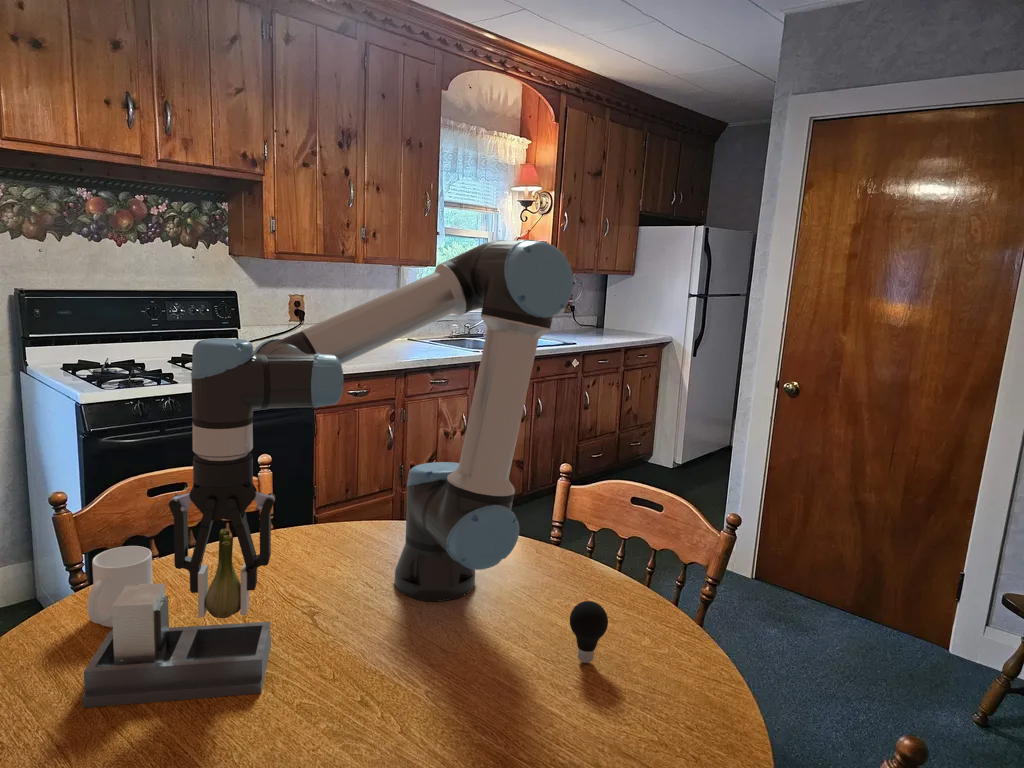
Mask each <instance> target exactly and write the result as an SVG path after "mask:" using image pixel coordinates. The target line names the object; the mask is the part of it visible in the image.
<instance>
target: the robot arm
mask: <svg viewBox="0 0 1024 768" xmlns="http://www.w3.org/2000/svg"><path fill="white" fill-rule="evenodd" d="M573 275H574V274H573V270H572V267H571V265H570V263H569V262H568V259H567V258H566V256H565V254H564V252H562V251H561V249H559V248H557V247H556V246H554V245H553V244H551V243H548V242H545V241H539V240H533V239H529V238H528V239H524V240H505V239H501V240H499V239H498V240H492V241H489V242H485V243H482V244H480V245H478V246H475V247H474V248H471V249H469V250H467V251H465V252H463V253H461V254H459V255H456V256H454V257H453V258H450V259H448V260H446V261H443V262H441V263H439V264H437V265H436V266H435V269H434V272H433V273H431V274H429V275H426V276H424V277H422V278H419V279H418V280H414V281H413V282H410V283H408V284H406V285H403V286H401V287H399V288H396V289H394V290H392V291H389V292H388V293H385V294H383V295H382V294H381V296H378V297H375V298H374V299H372V300H369V301H366V302H365V303H362V304H360V305H357V306H355V307H353V308H351V309H349V310H346V311H344V312H341V313H338V314H337V315H335V316H332V317H330V318H328V319H326V320H322V321H321V322H318V323H317V324H316V323H315V324H313V325H311V326H309V327H307V328H305V329H303V330H301V331H298V332H296V333H293V334H291V335H288V336H287V337H283V338H275V339H268V340H265V341H263V342H262V343H260V344H259V345H257V347H256V348H255V349H254V347H253V344H252V342H250V341H249V340H247V339H242V338H229V337H228V338H226V337H225V338H224V337H222V338H220V337H215V338H214V337H213V338H205V339H201V340H198V341H197V342H196V343H195V344H194V345H193V348H192V355H191V356H192V357H191V358H192V359H191V361H192V362H191V372H190V377H191V380H190V381H191V405H192V406H191V408H192V411H191V412H192V414H191V415H192V422H191V423H192V424H191V425H192V451H193V453H194V454H195V455H194V456H193V457H192V468H193V469H192V488H191V489H190V492H188V493H185V494H182V495H181V494H178V493H177V494H175V495H174V496H173V497H172V499H171V500H170V501H169V503H168V507H169V510H170V512H171V514H172V516H173V547H174V548H173V549H174V551H173V552H174V553H173V554H174V559H173V560H174V568H175V569H178V570H180V569H181V570H182V569H184V570H187V571H188V572H189V591H190V592H191V594H197V611H198V612H197V613H198V616H197V617H198V618H205V616H206V614H207V612H208V610H207V608H206V604H205V599H206V595H207V592H208V589H209V573H208V571H209V564H202V563H203V561H204V556H205V553H206V552H205V551H206V549H207V544H208V541H209V538H210V533H211V530H212V526H213V524H214V523H213V522H214V521H219V520H220V521H221V520H225V521H231V523H232V526H233V528H234V530H235V534H236V537H237V540H238V544H239V548H240V551H241V554H242V558H243V561H244V563H243V564H242V566H241V570H240V584H241V609H240V616H247V614H248V610H249V607H250V591H255V589H256V587H257V583H258V568H259V567H262V566H263V567H265V566H268V564H270V563H269V562H270V559H271V553H272V548H271V546H272V545H271V544H272V518H271V517H272V509H273V506H274V504H275V500H276V494H274V493H271V492H270V493H268V494H265V493H263V492H259V491H257V488H256V486H255V484H254V474H253V473H254V470H253V468H254V459H253V458H254V456H253V454H252V453H251V451H252V450H253V448H254V438H253V437H254V435H253V434H254V431H253V429H254V428H253V426H254V425H253V423H254V419H253V418H254V415H253V414H254V410H266V409H267V410H268V409H293V408H313V409H317V408H319V407H328V406H329V407H330V406H334V405H335V406H336V404H338V403H339V402H340V400H341V398H342V395H343V392H344V371H343V366H342V365H343V364H345V363H347V362H349V361H352V360H354V359H355V358H358V357H360V356H362V355H364V354H366V353H369V352H371V351H373V350H375V349H377V348H379V347H382V346H383V345H386V344H389V343H391V342H392V341H395V340H397V339H399V338H401V337H403V336H406V335H407V334H410V333H413V332H414V331H416V330H419V329H421V328H423V327H425V326H427V325H429V324H432V323H434V322H436V321H438V320H440V319H442V318H444V317H447V316H449V315H451V314H454V315H457V316H463V315H465V314H468V313H469V312H472V311H476V310H479V309H481V313H480V317H481V319H482V321H483V322H484V323H485V326H486V329H487V330H486V335H485V338H484V344H483V348H482V352H481V353H482V354H481V358H480V361H479V362H480V363H479V368H478V372H477V377H476V381H475V385H474V386H475V387H474V392H473V397H472V400H471V406H470V411H469V416H468V420H467V426H466V430H465V436H464V439H463V444H462V449H461V454H460V459H459V462H453V461H452V462H450V461H445V462H444V461H435V462H426V463H420V464H417V465H415V466H413V467H412V468H410V469H409V471H408V477H407V483H406V512H405V513H406V516H405V542H404V547H403V549H402V551H401V553H400V557H399V558H398V562H397V565H396V567H395V570H394V586H395V588H396V589H397V590H398V591H399V592H400V593H401V594H403V595H405V596H407V597H410V598H411V599H415V600H419V599H420V601H426V600H429V601H428V602H439V601H438V600H445V601H448V600H447V599H451V600H455V599H458V597H459V598H461V597H463V596H462V595H464V594H465V595H467V594H468V593H467V592H469V591H470V590H471V589H472V588H473V589H474V587H475V585H476V584H475V582H476V571H479V570H481V571H482V570H486V569H490V568H493V567H495V566H498V564H500V563H501V562H502V560H505V559H506V558H508V556H509V555H510V554H511V553H512V551H514V548H515V547H516V545H517V542H518V540H519V536H520V523H519V520H518V518H517V516H516V514H515V512H513V510H512V507H513V501H514V499H515V498H514V497H515V494H516V493H515V491H516V488H515V487H514V485H513V483H511V481H510V475H511V474H510V473H511V468H512V464H513V459H514V454H515V450H516V446H517V441H518V436H519V431H520V427H521V422H522V417H523V414H524V413H523V412H524V408H525V404H526V399H527V395H528V390H529V387H530V386H529V385H530V381H531V376H532V372H533V367H534V363H535V358H536V352H537V348H538V343H539V339H540V338H542V337H543V336H544V335H546V334H547V333H548V332H550V331H551V326H552V323H553V318H554V316H555V315H558V314H559V313H560V312H561V310H563V309H565V307H566V306H567V305H568V303H569V302H570V300H571V296H572V294H573V288H574V276H573ZM253 501H255V502H256V509H258V510H259V511H260V513H259V514H260V515H259V554H257V552H256V549H255V545H254V540H253V539H252V538H253V537H252V534H251V531H250V527H249V524H248V520H247V513H246V511H247V509H248V508H249V506H250V505H251V504H252V502H253ZM191 503H193V505H194V506H195V507H196V508H197V509H198V510H199V512H200V513H201V514H202V517H201V521H200V524H199V530H198V534H197V537H196V540H195V541H196V542H195V545H194V548H193V552H192V555H191V556H189V521H188V520H189V519H188V517H189V516H188V515H189V514H188V510H189V508H190V507H191ZM474 584H475V585H474ZM473 586H474V587H473ZM473 589H472V590H473ZM472 590H471V591H472ZM471 591H470V592H471ZM470 592H469V593H470ZM466 593H467V594H466ZM465 595H464V596H465ZM460 596H461V597H460ZM454 598H455V599H454ZM430 600H431V601H430Z"/></svg>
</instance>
